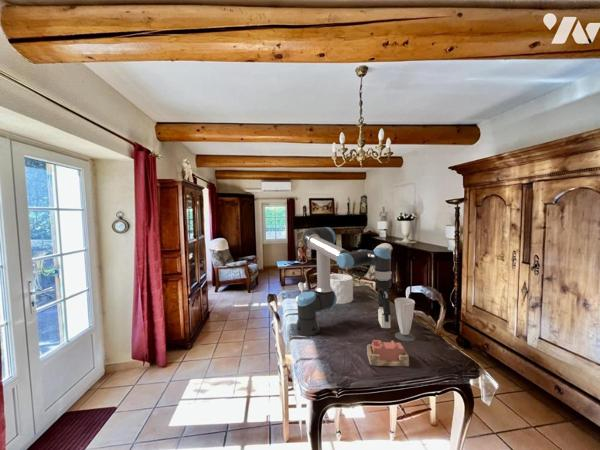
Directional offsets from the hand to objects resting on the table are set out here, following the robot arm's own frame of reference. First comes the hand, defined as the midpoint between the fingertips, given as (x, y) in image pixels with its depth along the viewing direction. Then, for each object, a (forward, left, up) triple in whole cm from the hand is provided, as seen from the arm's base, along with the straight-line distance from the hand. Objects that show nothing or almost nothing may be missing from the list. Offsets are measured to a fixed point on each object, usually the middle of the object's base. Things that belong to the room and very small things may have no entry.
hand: (384, 323), depth 131 cm
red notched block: (+1, -1, -17) cm, 17 cm away
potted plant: (-46, +65, -19) cm, 82 cm away
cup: (+17, +24, -19) cm, 35 cm away
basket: (-18, +91, -19) cm, 95 cm away
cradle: (+1, -1, -18) cm, 18 cm away
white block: (0, 0, 0) cm, 0 cm away
